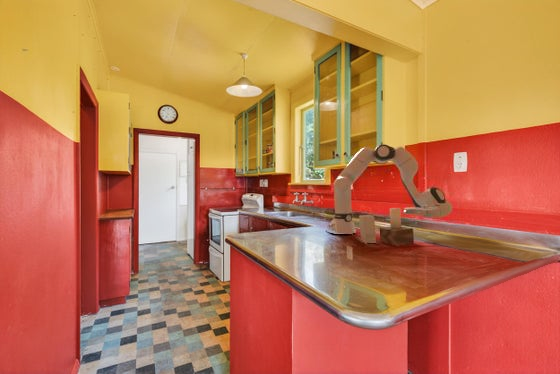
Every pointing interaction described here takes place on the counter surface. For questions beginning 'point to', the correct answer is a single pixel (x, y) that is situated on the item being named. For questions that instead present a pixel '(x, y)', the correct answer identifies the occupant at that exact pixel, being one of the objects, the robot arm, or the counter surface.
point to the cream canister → (395, 218)
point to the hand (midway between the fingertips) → (411, 212)
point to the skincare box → (367, 228)
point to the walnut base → (397, 236)
